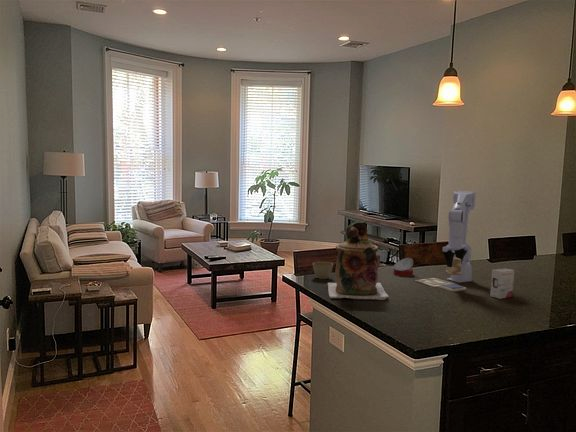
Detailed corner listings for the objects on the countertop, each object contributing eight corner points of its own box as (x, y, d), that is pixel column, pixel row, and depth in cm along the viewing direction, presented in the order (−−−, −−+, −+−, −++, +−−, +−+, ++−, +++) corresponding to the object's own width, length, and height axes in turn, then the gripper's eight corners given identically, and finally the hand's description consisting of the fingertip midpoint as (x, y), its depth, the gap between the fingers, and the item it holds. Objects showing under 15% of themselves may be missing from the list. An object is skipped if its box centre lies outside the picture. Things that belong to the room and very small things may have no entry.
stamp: (455, 272, 228) (456, 257, 227) (461, 274, 223) (462, 259, 222) (445, 272, 227) (446, 257, 226) (451, 274, 222) (451, 259, 222)
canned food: (412, 284, 252) (417, 269, 247) (392, 282, 252) (397, 267, 247) (409, 270, 262) (414, 255, 256) (390, 268, 262) (394, 253, 256)
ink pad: (452, 285, 231) (452, 283, 231) (465, 289, 224) (466, 286, 224) (439, 287, 227) (439, 284, 227) (452, 291, 220) (453, 288, 220)
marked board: (435, 279, 245) (435, 277, 245) (454, 284, 233) (455, 283, 233) (414, 281, 239) (414, 280, 239) (434, 287, 227) (434, 286, 227)
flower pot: (332, 276, 247) (333, 262, 246) (332, 280, 237) (333, 266, 236) (312, 275, 248) (313, 261, 247) (311, 279, 238) (312, 265, 237)
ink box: (503, 294, 217) (505, 267, 216) (513, 297, 213) (515, 270, 212) (489, 296, 213) (490, 269, 212) (498, 299, 209) (500, 271, 208)
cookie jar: (326, 285, 227) (328, 216, 224) (380, 287, 227) (383, 217, 223) (329, 300, 203) (331, 222, 200) (389, 301, 202) (393, 223, 199)
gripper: (458, 234, 231) (456, 263, 232) (437, 236, 223) (436, 266, 224) (471, 236, 225) (469, 265, 226) (450, 238, 217) (448, 268, 218)
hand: (453, 266), depth 225 cm, fingers closed on stamp, 6 cm apart
